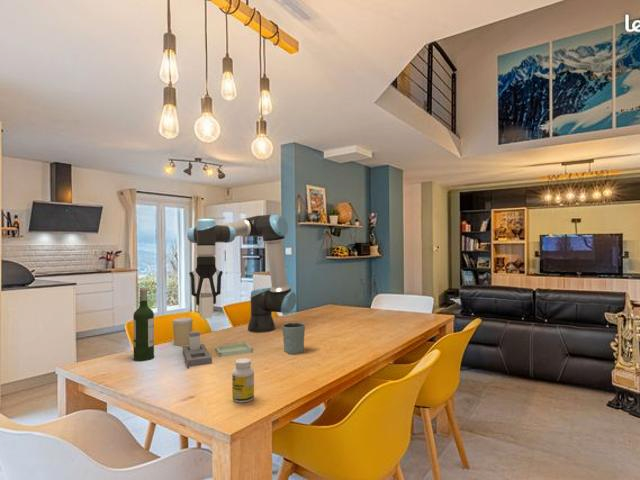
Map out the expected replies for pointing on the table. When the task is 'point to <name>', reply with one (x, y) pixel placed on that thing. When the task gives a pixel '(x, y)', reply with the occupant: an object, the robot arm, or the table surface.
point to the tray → (233, 349)
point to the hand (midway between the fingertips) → (206, 312)
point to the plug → (206, 305)
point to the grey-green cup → (293, 338)
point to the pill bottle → (243, 381)
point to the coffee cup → (182, 331)
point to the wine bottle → (143, 329)
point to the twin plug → (194, 340)
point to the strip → (196, 356)
